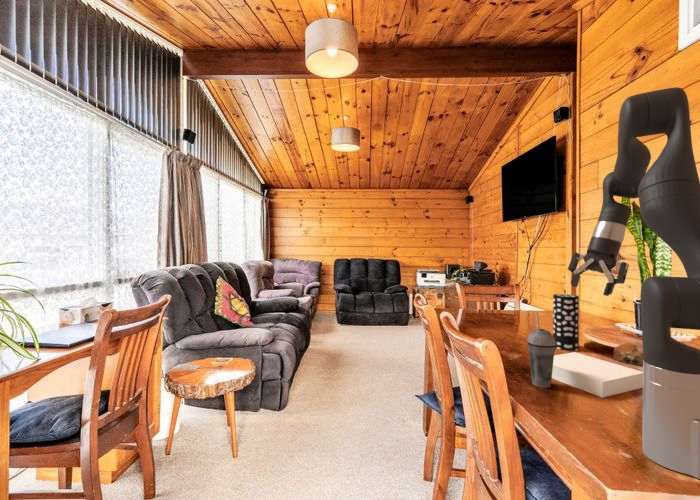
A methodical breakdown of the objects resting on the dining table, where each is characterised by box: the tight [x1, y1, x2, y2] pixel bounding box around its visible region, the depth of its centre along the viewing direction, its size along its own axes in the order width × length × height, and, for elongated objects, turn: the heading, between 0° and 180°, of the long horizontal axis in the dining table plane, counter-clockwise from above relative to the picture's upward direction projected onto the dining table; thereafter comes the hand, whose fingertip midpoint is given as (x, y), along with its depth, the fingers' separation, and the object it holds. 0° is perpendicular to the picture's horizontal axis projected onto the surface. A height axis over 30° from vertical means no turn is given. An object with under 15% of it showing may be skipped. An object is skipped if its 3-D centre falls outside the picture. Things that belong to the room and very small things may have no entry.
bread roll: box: [612, 342, 643, 366], centre depth 117 cm, size 10×10×8 cm
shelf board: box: [552, 351, 643, 399], centre depth 101 cm, size 20×18×4 cm
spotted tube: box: [552, 293, 580, 352], centre depth 133 cm, size 8×8×20 cm
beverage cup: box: [526, 313, 557, 389], centre depth 97 cm, size 7×7×20 cm
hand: (589, 291), depth 104 cm, fingers open, 8 cm apart
